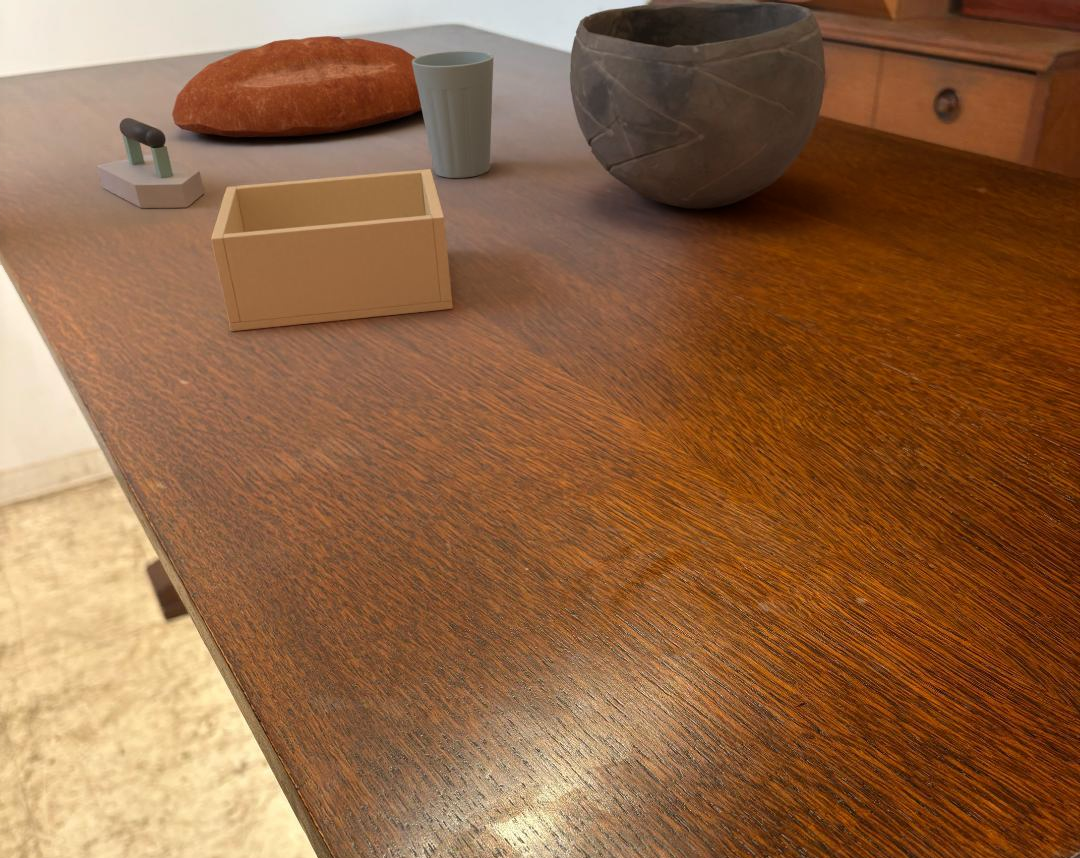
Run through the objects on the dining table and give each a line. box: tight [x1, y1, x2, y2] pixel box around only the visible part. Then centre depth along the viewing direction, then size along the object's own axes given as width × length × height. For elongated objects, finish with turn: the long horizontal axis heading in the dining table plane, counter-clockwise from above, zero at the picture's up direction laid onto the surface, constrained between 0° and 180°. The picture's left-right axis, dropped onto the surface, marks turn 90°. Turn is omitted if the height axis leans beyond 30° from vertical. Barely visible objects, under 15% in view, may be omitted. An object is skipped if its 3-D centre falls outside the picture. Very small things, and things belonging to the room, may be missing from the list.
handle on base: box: [96, 117, 205, 209], centre depth 104 cm, size 13×6×6 cm, turn 39°
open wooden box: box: [210, 168, 454, 332], centre depth 80 cm, size 16×13×7 cm
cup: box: [412, 50, 494, 179], centre depth 105 cm, size 8×8×10 cm
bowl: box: [569, 1, 826, 210], centre depth 92 cm, size 21×21×15 cm
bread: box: [171, 35, 422, 138], centre depth 127 cm, size 23×32×9 cm
